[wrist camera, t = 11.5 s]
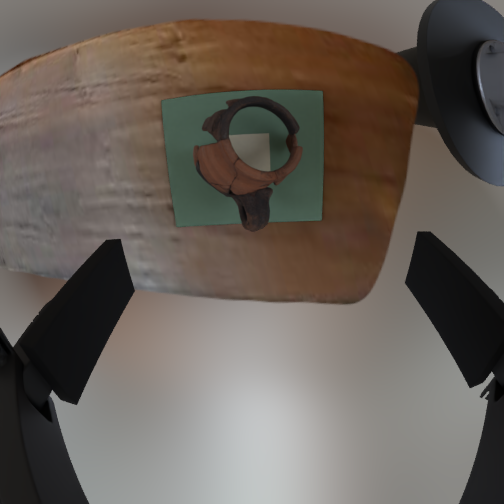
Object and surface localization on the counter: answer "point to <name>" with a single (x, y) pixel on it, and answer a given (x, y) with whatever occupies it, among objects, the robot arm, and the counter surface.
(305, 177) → the centre mat
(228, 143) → the broken pottery ring
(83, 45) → the counter surface
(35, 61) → the counter surface
